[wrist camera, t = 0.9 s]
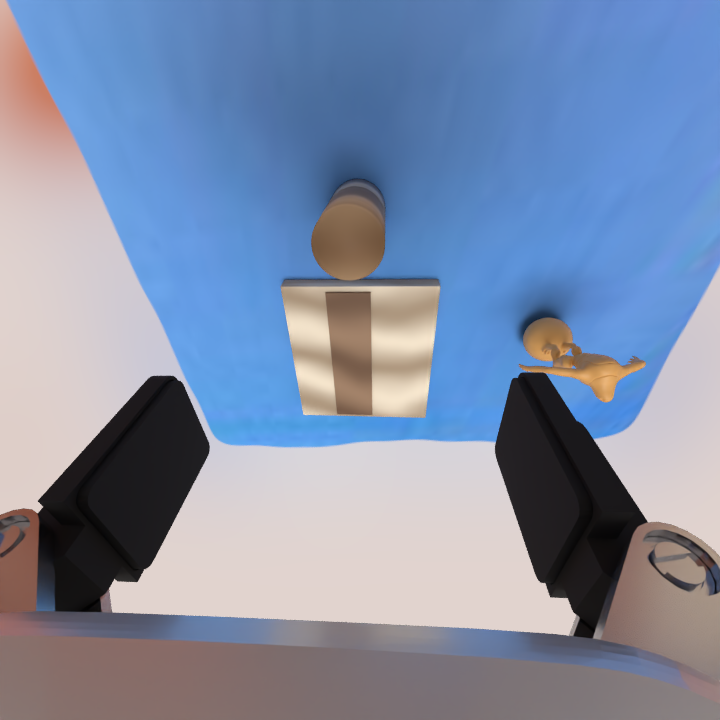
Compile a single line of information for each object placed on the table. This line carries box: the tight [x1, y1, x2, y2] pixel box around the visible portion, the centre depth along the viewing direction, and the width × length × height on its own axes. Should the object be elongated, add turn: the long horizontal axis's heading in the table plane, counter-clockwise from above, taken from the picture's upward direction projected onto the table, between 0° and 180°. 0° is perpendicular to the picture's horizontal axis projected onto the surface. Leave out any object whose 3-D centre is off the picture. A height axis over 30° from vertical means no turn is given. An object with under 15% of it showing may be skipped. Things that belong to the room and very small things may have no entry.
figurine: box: [519, 318, 646, 402], centre depth 28 cm, size 8×6×12 cm
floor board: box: [281, 279, 440, 418], centre depth 35 cm, size 16×14×2 cm
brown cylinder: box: [311, 179, 385, 281], centre depth 24 cm, size 4×4×9 cm
